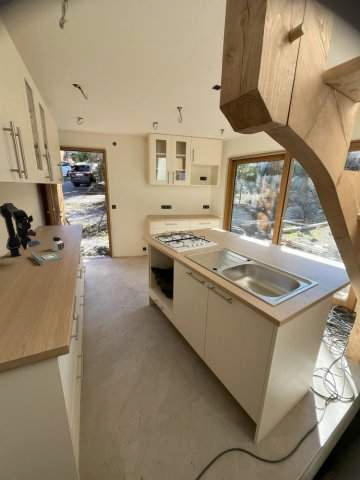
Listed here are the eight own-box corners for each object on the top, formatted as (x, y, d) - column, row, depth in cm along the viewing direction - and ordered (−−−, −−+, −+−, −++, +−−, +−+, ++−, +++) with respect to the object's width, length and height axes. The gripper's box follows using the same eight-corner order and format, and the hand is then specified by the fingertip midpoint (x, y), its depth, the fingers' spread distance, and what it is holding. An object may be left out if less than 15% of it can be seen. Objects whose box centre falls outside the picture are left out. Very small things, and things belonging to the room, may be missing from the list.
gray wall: (31, 256, 166) (30, 252, 165) (33, 256, 167) (32, 251, 166) (40, 265, 151) (39, 260, 150) (42, 264, 152) (42, 259, 151)
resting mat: (36, 257, 166) (36, 255, 166) (55, 253, 176) (55, 252, 176) (42, 262, 156) (42, 261, 155) (62, 258, 166) (62, 256, 166)
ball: (19, 249, 152) (18, 243, 151) (28, 248, 156) (27, 242, 154) (21, 251, 149) (20, 244, 148) (29, 249, 153) (28, 243, 151)
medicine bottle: (58, 251, 181) (57, 238, 178) (51, 250, 183) (50, 237, 180) (64, 248, 188) (63, 236, 185) (57, 248, 190) (56, 235, 186)
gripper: (38, 228, 148) (41, 249, 152) (31, 224, 160) (34, 243, 164) (18, 230, 140) (22, 252, 144) (13, 226, 152) (16, 246, 156)
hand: (24, 248), depth 152 cm, fingers closed on ball, 5 cm apart
